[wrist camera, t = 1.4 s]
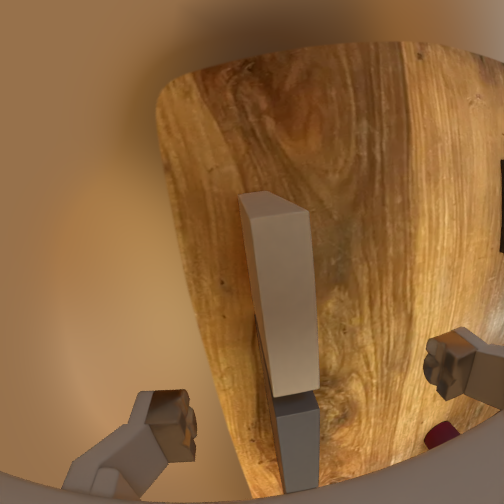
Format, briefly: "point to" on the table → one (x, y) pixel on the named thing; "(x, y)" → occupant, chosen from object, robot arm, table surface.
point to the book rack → (503, 236)
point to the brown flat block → (282, 289)
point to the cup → (440, 435)
